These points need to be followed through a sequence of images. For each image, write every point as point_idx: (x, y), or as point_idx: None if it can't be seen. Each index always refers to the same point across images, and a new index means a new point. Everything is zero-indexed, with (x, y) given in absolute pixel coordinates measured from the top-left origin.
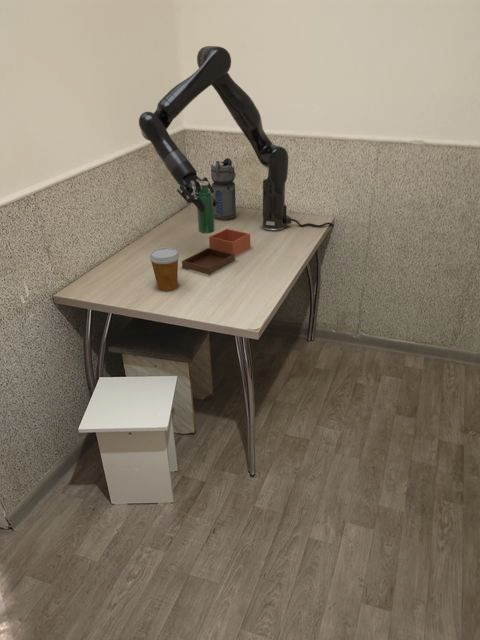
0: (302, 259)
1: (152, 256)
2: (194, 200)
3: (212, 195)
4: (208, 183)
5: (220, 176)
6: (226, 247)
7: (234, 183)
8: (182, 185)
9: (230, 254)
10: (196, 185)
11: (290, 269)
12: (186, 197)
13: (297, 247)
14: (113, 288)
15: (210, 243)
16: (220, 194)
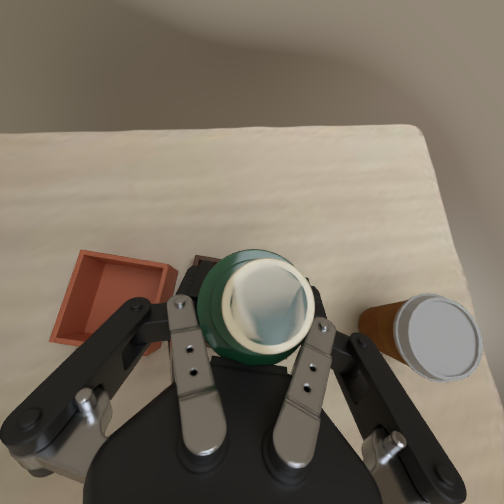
0: (135, 133)
1: (481, 352)
2: (338, 332)
3: (246, 250)
4: (250, 262)
5: None
6: (168, 289)
7: None
8: (434, 486)
9: (197, 265)
10: (243, 405)
11: (195, 140)
12: (357, 397)
13: (64, 160)
14: (443, 440)
15: (153, 347)
16: None
